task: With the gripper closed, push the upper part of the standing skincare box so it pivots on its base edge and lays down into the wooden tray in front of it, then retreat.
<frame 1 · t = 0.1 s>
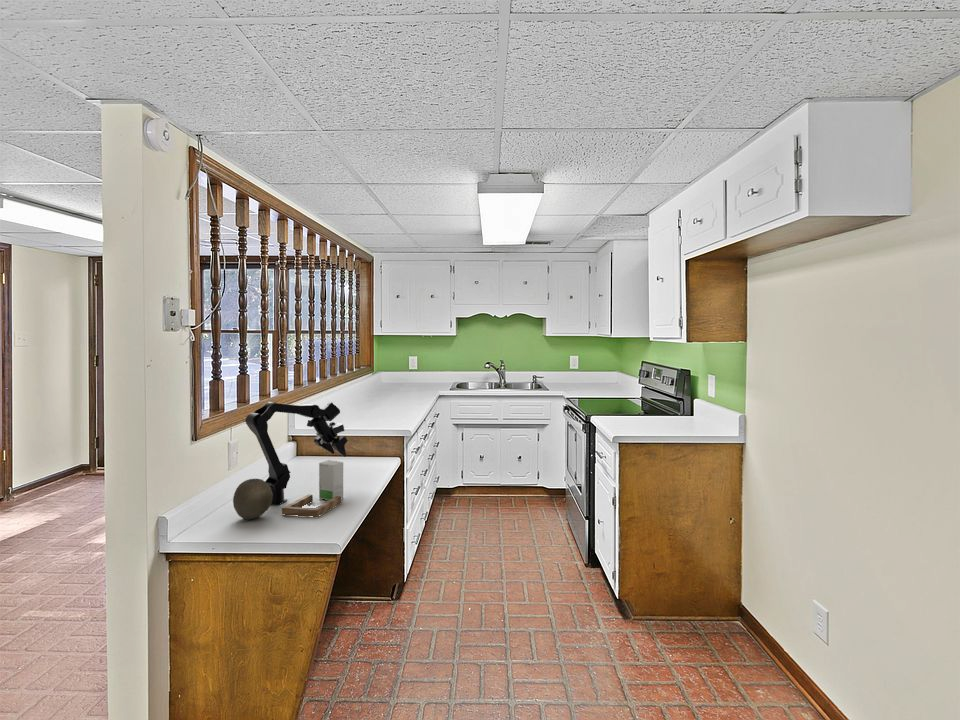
hand: (339, 454, 276), 15 cm above the countertop, tool tilted 35°, fingers open, 9 cm apart
skincare box: (331, 499, 258), on the countertop
wooden tray: (313, 508, 244), on the countertop
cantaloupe: (253, 519, 232), on the countertop
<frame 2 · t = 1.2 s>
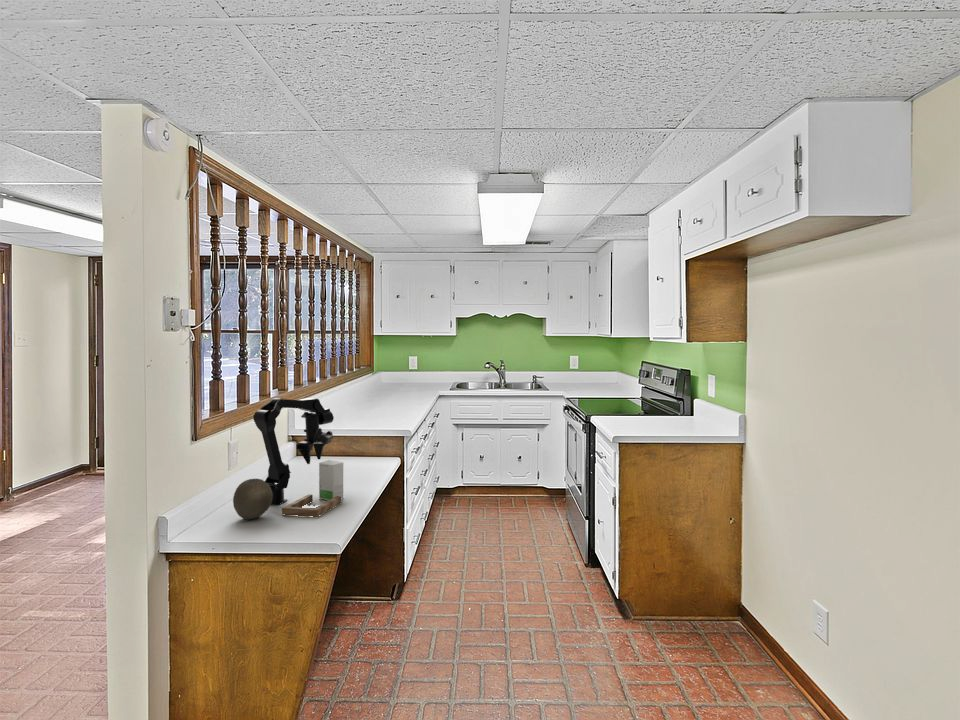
hand: (313, 461, 271), 13 cm above the countertop, tool pointing down, fingers open, 9 cm apart
nothing on the countertop moved.
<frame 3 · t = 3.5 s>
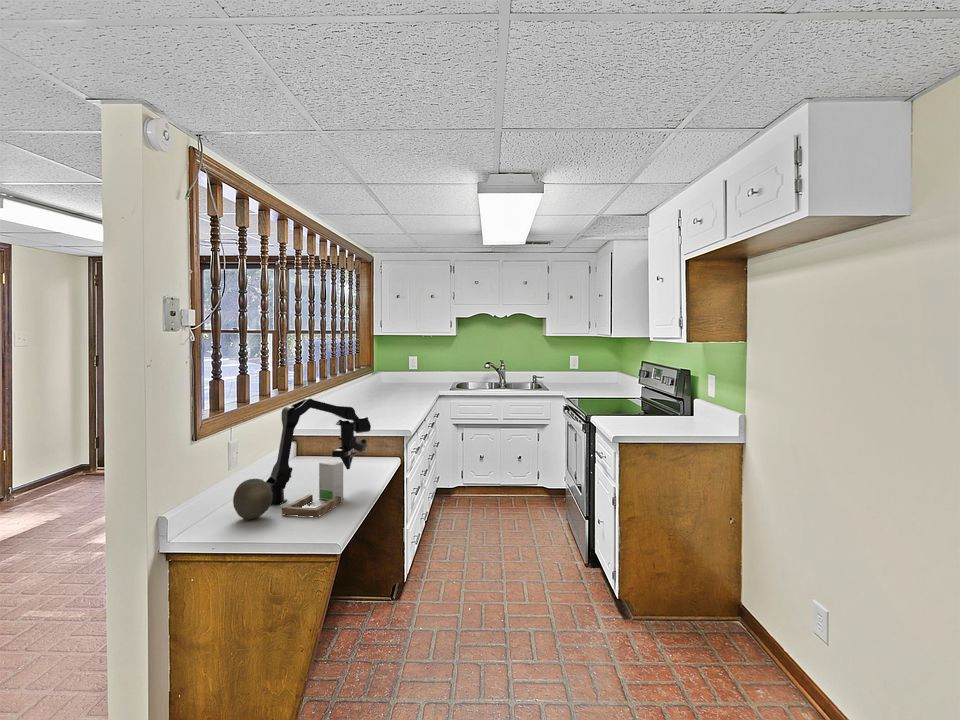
hand: (348, 469, 273), 9 cm above the countertop, tool pointing down, fingers closed
nothing on the countertop moved.
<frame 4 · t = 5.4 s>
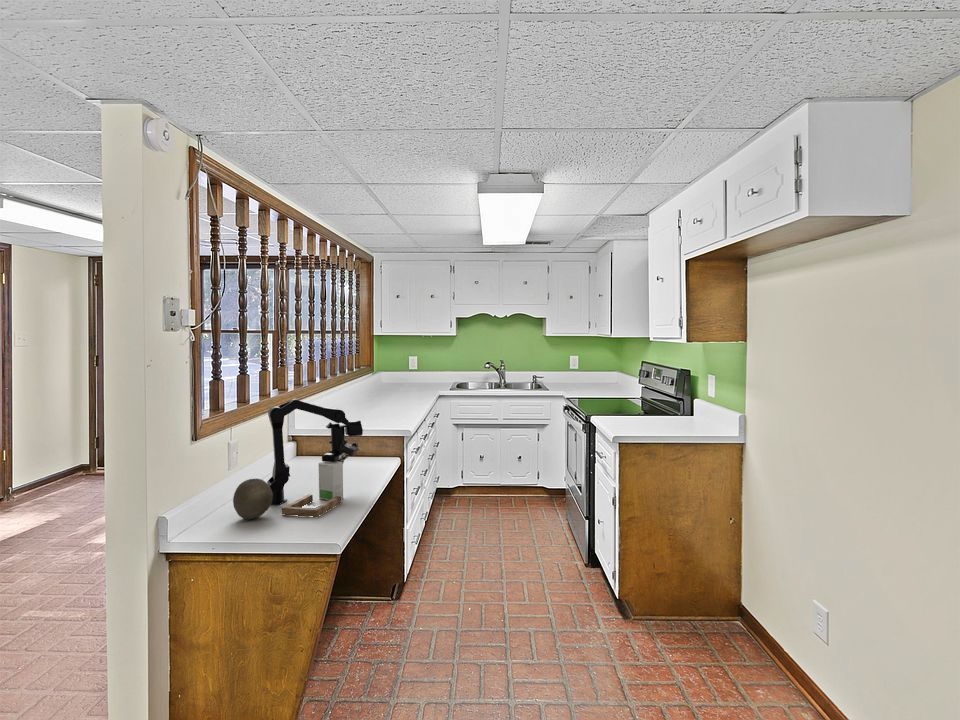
hand: (338, 473, 264), 9 cm above the countertop, tool pointing down, fingers closed
skincare box: (331, 498, 258), on the countertop, touching gripper
everything else where it was.
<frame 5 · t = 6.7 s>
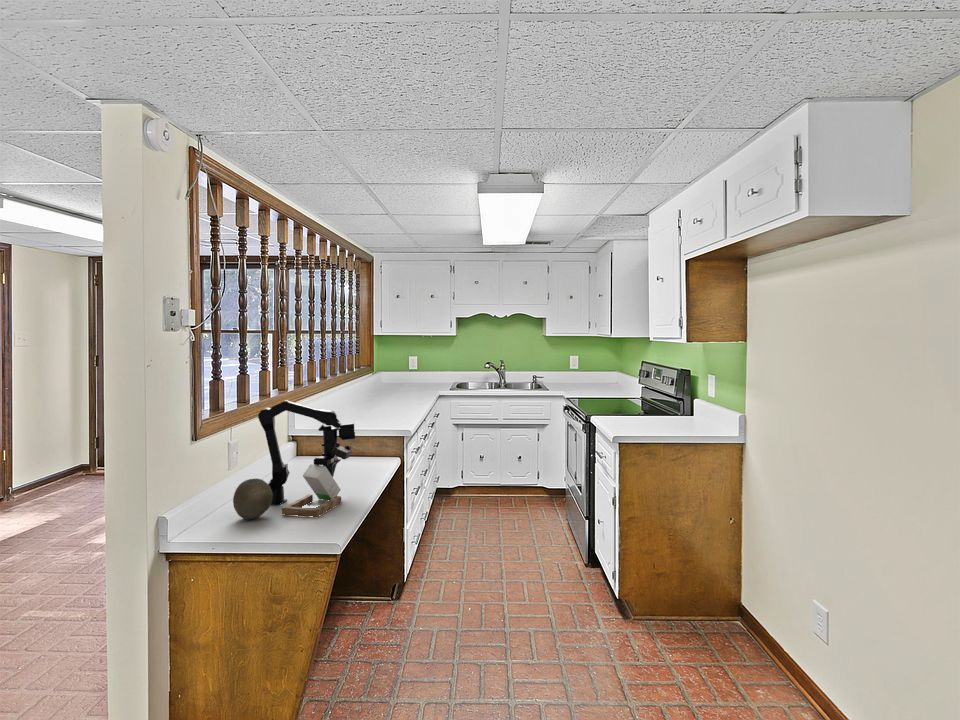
hand: (331, 477, 258), 9 cm above the countertop, tool pointing down, fingers closed
skincare box: (330, 494, 258), point 2 cm above the countertop
everything else where it was.
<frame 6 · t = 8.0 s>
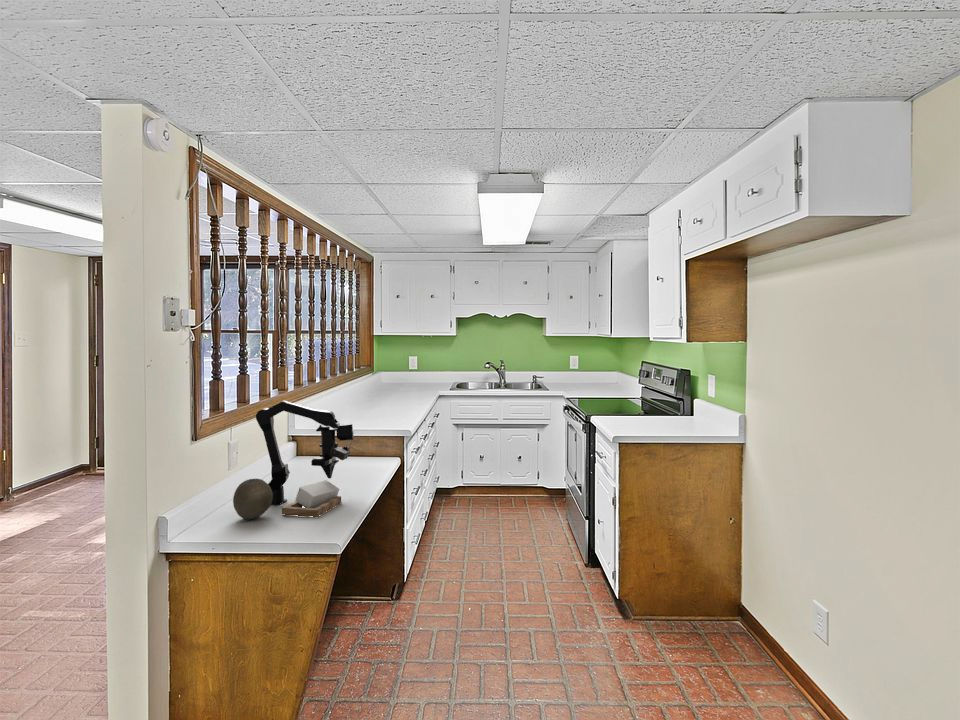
hand: (329, 478, 256), 9 cm above the countertop, tool pointing down, fingers closed
skincare box: (331, 490, 255), point 4 cm above the countertop, touching wooden tray
everything else where it was.
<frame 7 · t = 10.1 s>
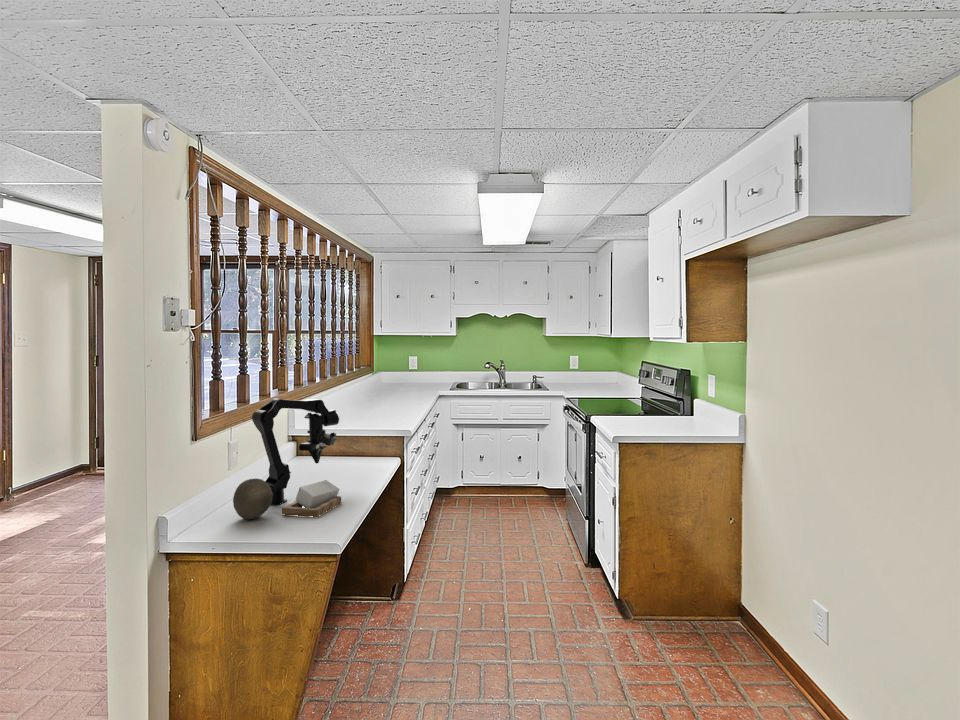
hand: (317, 463, 268), 13 cm above the countertop, tool pointing down, fingers closed
nothing on the countertop moved.
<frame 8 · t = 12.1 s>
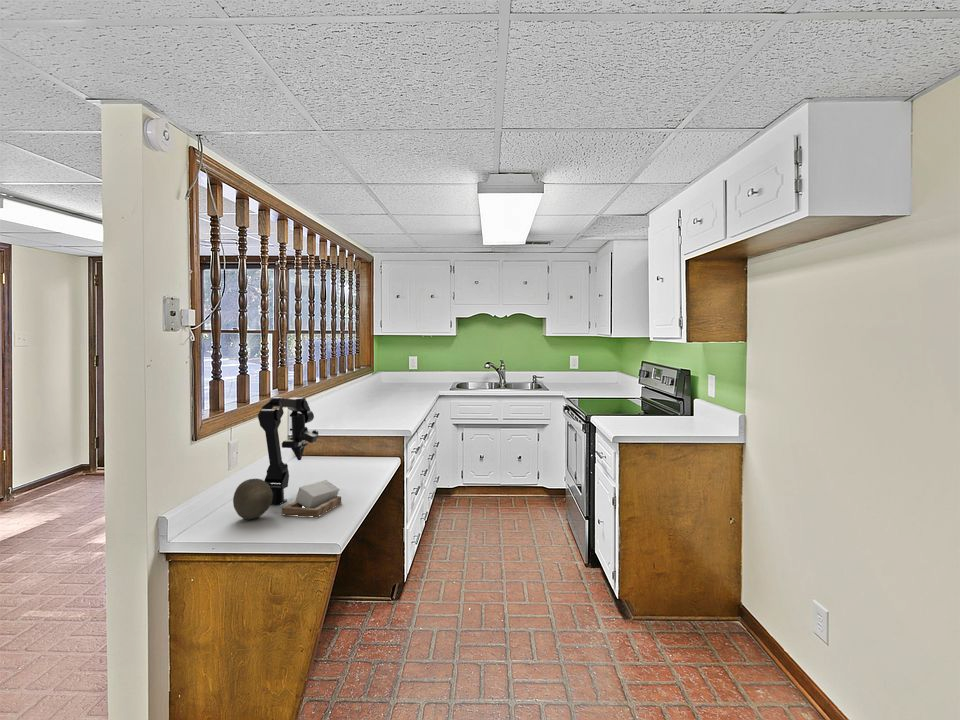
hand: (299, 460, 275), 13 cm above the countertop, tool pointing down, fingers closed
nothing on the countertop moved.
at the end: skincare box tilted 88°; skincare box inside the target area (8.2 cm from its centre), point 4.4 cm above the countertop; the gripper is holding nothing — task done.
